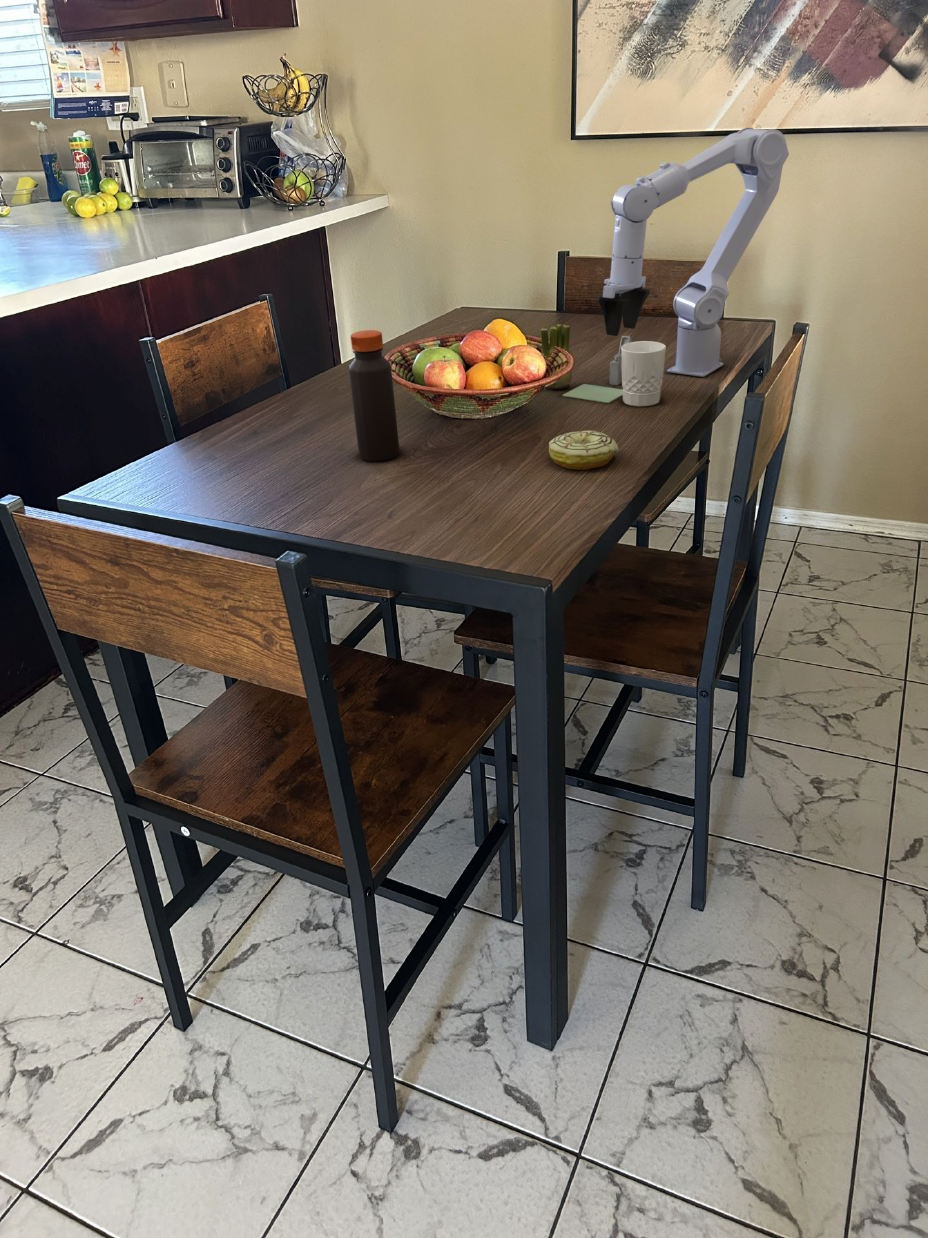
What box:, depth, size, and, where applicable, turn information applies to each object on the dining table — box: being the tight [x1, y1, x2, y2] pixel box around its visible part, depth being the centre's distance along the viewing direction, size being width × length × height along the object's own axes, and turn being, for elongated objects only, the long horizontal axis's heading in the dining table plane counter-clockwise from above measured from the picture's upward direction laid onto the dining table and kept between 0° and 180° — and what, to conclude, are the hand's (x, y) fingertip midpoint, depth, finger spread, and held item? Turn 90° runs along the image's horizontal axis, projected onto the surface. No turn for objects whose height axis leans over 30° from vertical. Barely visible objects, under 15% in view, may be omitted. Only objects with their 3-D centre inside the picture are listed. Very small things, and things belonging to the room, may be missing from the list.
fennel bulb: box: [540, 323, 573, 390], centre depth 179 cm, size 6×5×12 cm
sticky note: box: [561, 383, 623, 404], centre depth 177 cm, size 8×10×1 cm
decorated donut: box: [548, 429, 619, 471], centre depth 147 cm, size 10×11×4 cm
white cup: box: [621, 340, 667, 407], centre depth 170 cm, size 8×8×10 cm
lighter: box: [609, 335, 633, 386], centre depth 182 cm, size 7×2×8 cm, turn 150°
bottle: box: [348, 329, 400, 463], centre depth 151 cm, size 7×7×20 cm
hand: (620, 331), depth 179 cm, fingers open, 7 cm apart
